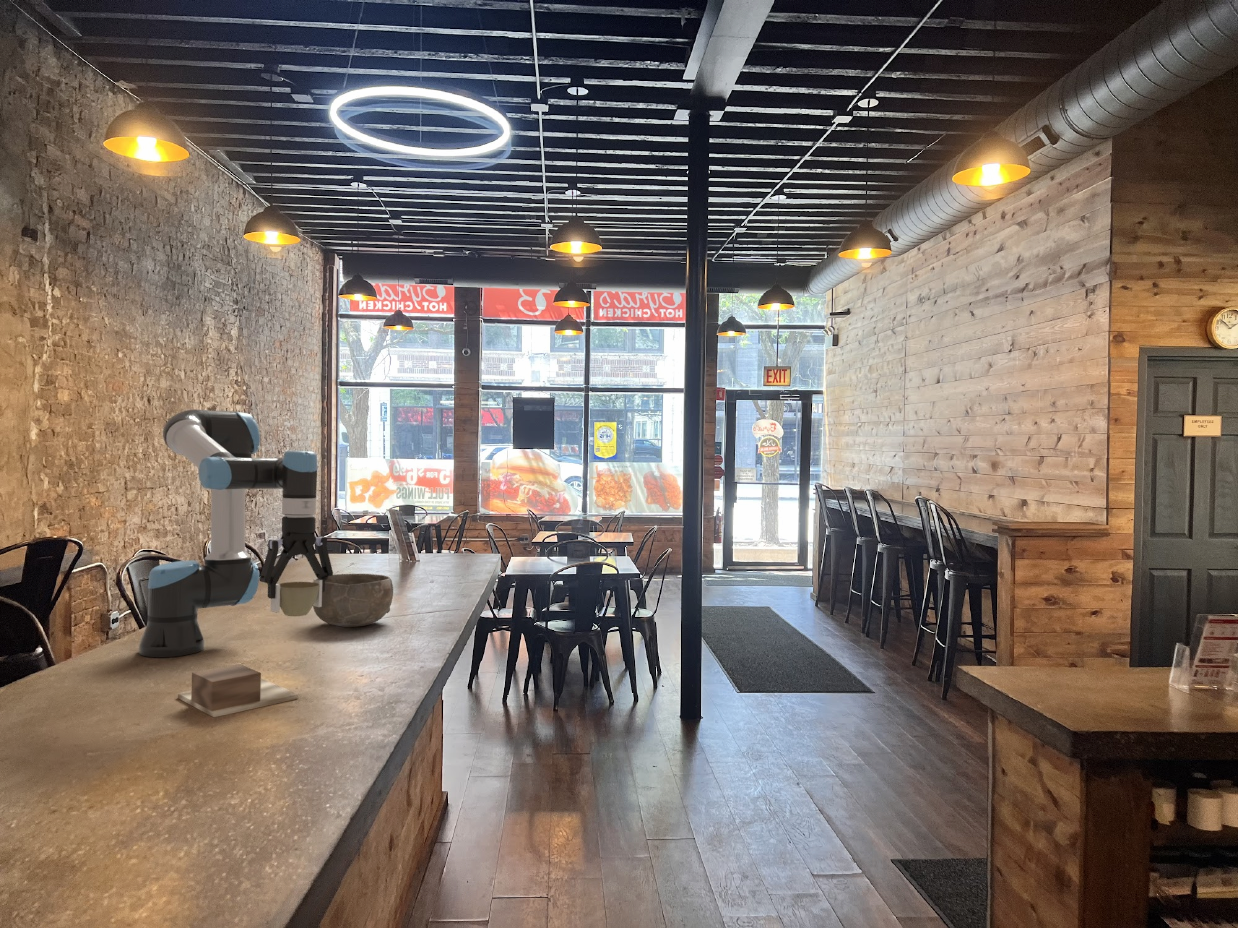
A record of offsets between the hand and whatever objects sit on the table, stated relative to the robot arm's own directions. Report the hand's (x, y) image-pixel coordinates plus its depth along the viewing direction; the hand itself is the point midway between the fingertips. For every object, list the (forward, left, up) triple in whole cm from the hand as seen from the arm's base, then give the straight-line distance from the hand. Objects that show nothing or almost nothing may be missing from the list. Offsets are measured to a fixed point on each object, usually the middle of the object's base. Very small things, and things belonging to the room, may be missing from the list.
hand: (296, 609), depth 191 cm
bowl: (-43, +42, -17) cm, 62 cm away
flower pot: (0, 0, -2) cm, 2 cm away
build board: (+5, -16, -17) cm, 24 cm away
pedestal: (+8, -20, -16) cm, 27 cm away
